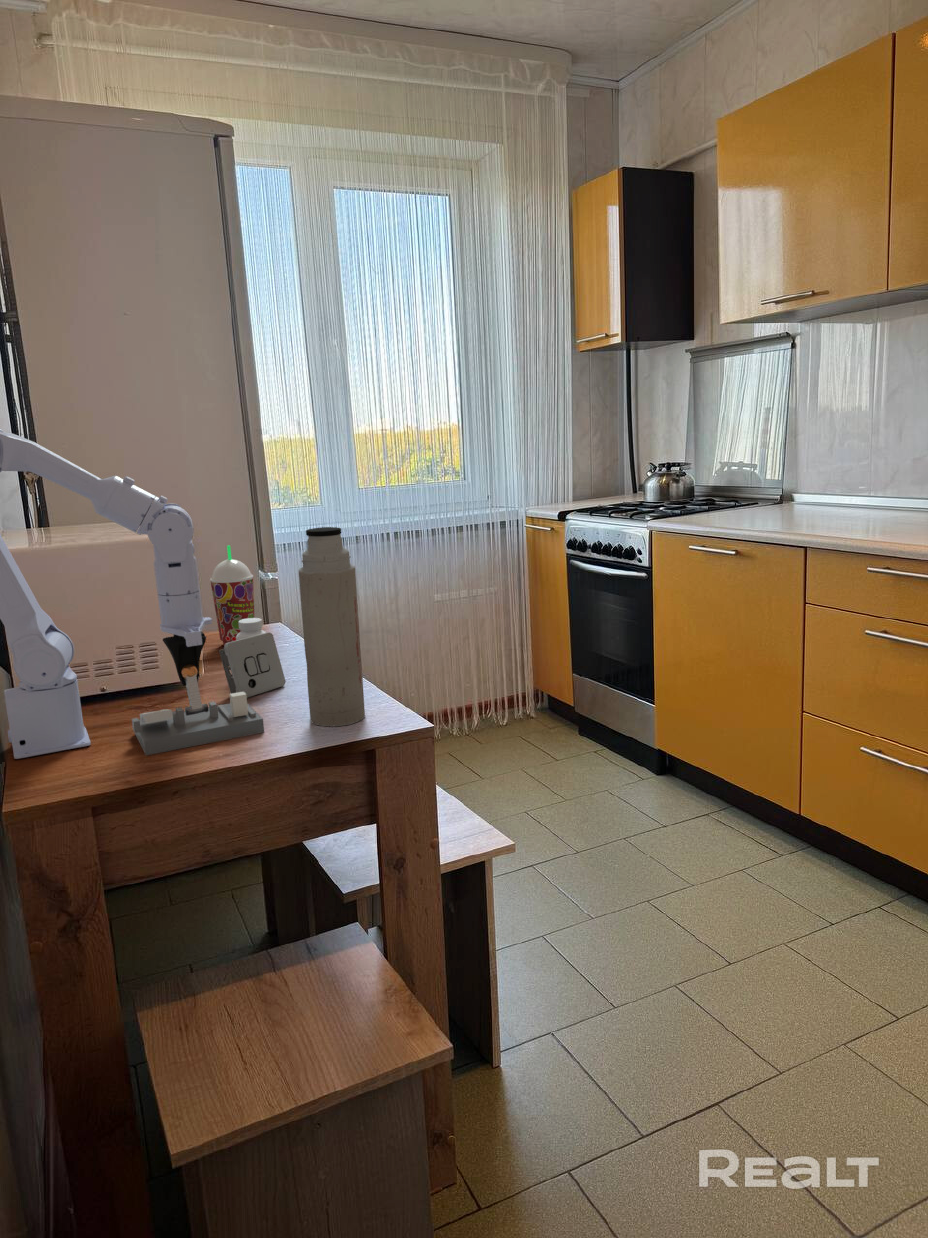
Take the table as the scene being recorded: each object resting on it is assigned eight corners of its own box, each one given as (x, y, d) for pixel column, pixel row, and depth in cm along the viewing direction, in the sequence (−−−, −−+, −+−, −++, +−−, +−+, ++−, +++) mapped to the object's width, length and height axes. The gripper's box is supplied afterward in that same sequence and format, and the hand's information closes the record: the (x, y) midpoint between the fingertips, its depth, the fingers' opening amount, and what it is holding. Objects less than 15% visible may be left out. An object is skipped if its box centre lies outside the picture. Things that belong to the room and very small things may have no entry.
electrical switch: (241, 701, 138) (232, 644, 137) (221, 699, 142) (213, 643, 140) (287, 686, 145) (279, 632, 144) (267, 684, 149) (259, 631, 147)
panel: (141, 756, 116) (137, 727, 115) (130, 734, 124) (127, 708, 124) (264, 732, 123) (261, 705, 122) (246, 713, 132) (243, 687, 131)
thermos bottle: (366, 707, 132) (353, 523, 126) (363, 725, 125) (350, 529, 119) (313, 710, 132) (298, 526, 126) (307, 728, 124) (291, 532, 118)
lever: (187, 714, 122) (178, 664, 123) (185, 717, 123) (176, 668, 125) (209, 710, 123) (199, 661, 124) (207, 713, 125) (197, 664, 126)
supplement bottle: (239, 679, 150) (233, 624, 148) (239, 671, 155) (234, 618, 153) (271, 676, 151) (266, 622, 149) (270, 668, 156) (265, 615, 154)
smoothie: (237, 651, 170) (227, 549, 165) (207, 646, 174) (197, 547, 170) (268, 641, 177) (259, 543, 172) (239, 637, 181) (230, 541, 177)
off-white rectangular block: (234, 717, 123) (232, 696, 122) (231, 714, 125) (229, 694, 124) (248, 714, 124) (246, 694, 123) (245, 711, 125) (243, 691, 125)
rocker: (145, 723, 117) (144, 713, 117) (140, 722, 122) (139, 713, 122) (173, 718, 119) (171, 708, 119) (167, 717, 124) (165, 708, 124)
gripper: (219, 596, 118) (230, 691, 121) (196, 580, 131) (206, 667, 134) (166, 603, 115) (178, 701, 118) (147, 586, 127) (158, 675, 131)
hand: (189, 684), depth 126 cm, fingers closed, pressing on lever
